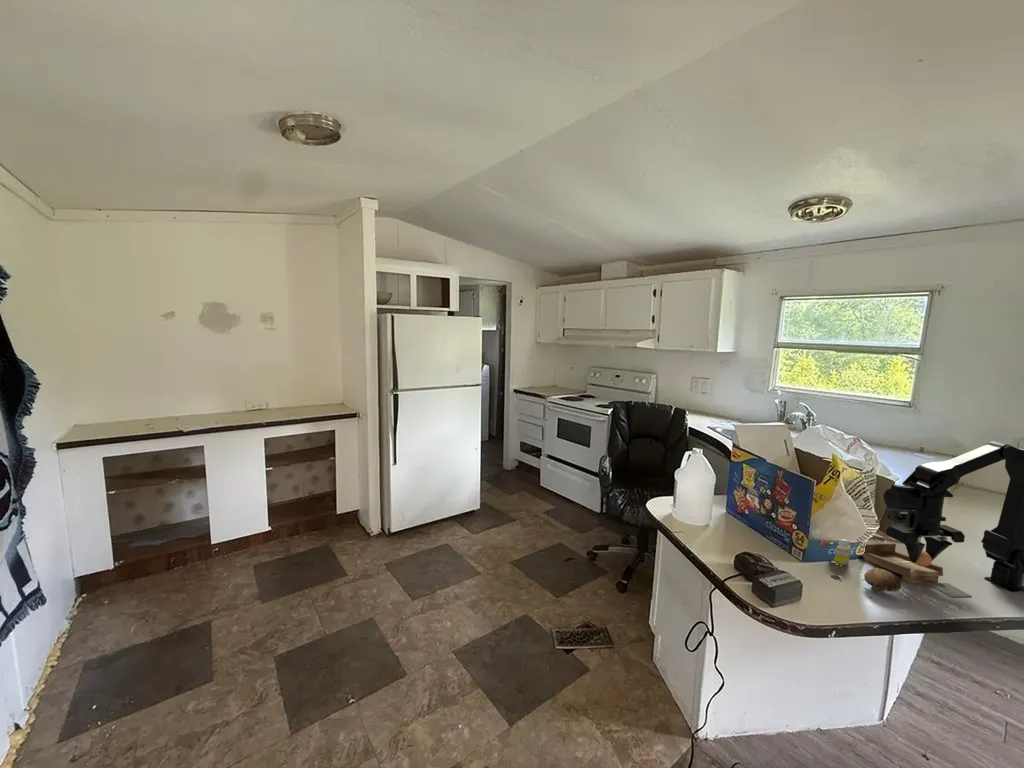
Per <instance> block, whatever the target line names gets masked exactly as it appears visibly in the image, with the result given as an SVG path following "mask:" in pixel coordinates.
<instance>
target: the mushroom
mask: <svg viewBox="0 0 1024 768" xmlns="http://www.w3.org/2000/svg"><path fill="white" fill-rule="evenodd" d="M863 577H864V578H863V579H864V581H865V582H866V583H867V584H868V585H869V586H871V587H870V589H871V590H872V591H874V593H875V592H876V593H878V594H884V593H885V592H888V593H889V592H890V593H891V592H892V593H894V592H895V593H897V592H898V591H900V590H901V588H902V581H901V580H900V578H899V577H898V576H897V575H896V574H894V573H893V572H891V571H890V570H888V569H885V568H879V567H874V568H871V569H868V570H867V571H865V573H863Z"/></svg>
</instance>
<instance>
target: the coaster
mask: <svg viewBox="0 0 1024 768" xmlns="http://www.w3.org/2000/svg"><path fill="white" fill-rule="evenodd" d="M927 585H928V586H930V587H932V588H933V589H935V590H938V591H940V592H941V593H942V594H944V595H946V596H948V597H950V598H972V597H973V596H972V595H971V594H970V593H967V592H966V591H964V590H961V589H960V588H958V587H956V586H954V585H952V584H950V583H948V582H937V583H927Z"/></svg>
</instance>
